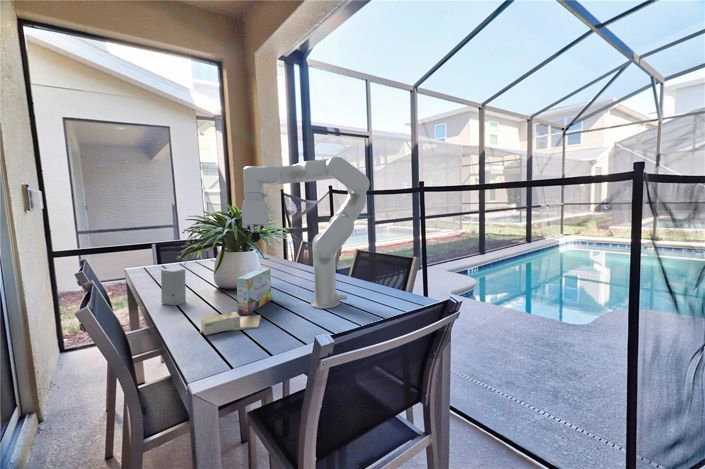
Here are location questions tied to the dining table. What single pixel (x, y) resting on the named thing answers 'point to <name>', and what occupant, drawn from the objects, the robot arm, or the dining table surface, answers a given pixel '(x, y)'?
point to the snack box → (253, 290)
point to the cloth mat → (247, 322)
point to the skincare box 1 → (173, 286)
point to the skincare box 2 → (220, 323)
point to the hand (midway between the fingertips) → (256, 241)
